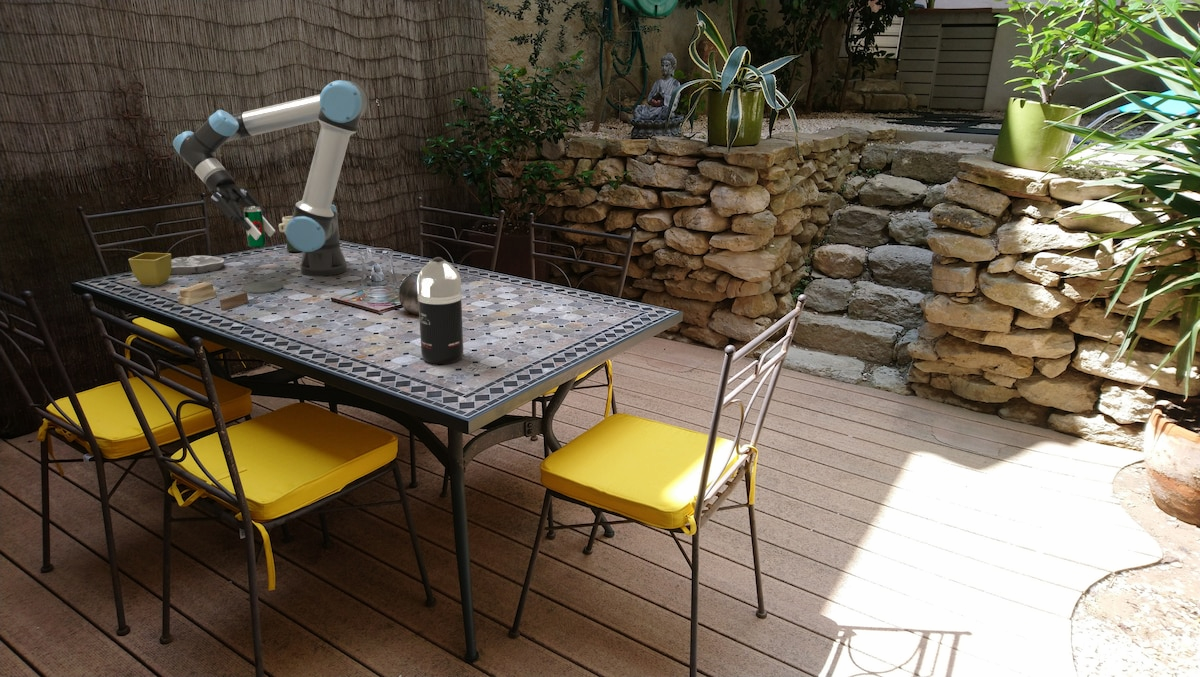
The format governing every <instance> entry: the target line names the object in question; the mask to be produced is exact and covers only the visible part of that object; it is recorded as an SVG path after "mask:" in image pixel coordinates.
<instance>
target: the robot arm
mask: <svg viewBox="0 0 1200 677" xmlns="http://www.w3.org/2000/svg"><path fill="white" fill-rule="evenodd" d="M369 98H370V97H369V95H368V92H367V90H366V89H365V87H363V85H361V84H360V83H358V82H356V81H354V80H344V79H343V80H342V79H338V80H334V81H332V82H330V83H328V84H327V85H326V86H324V88H322V90H321V92H320V93H319V94H315V95H311V96H306V97H303V98H298V99H294V100H289V101H285V102H282V103H281V102H280V103H277V104H272V105H268V106H264V107H259V108H255V109H251V110H247V111H243V112H239V113H238V112H237V113H234V114H230V113H229V112H227V111H225V110H223V109H218V110H216V111H215V112H214V113H213V114H211V115H210V116H209V117H208V119H207V120H206V121H205V122H204V123H203V124H201V126H200V127H199V128H198V129H197V130H196V131H195V132H193V131H191V130H185V131H183V132H181V133H180V134H177V136H176V137H174V139H173V141H172V146H173V148H174V149H175V151H176V152H177V154H178V155H179V157H180V158H181V159H182V160H183V161H184V162H185V163H186V164H187V165H188V166H189V168H191V170H192V171H193V172H194V173H195V174H196V175H197V177H198V178H199V179H200V180H201V182H203V183H204V185H205V186H206V188H208V190H209V191H210V192H211V193H212V196H210V200H211V202H213V203H214V204H216V205H217V207H218V208H219V209H220V211H221V212H222V213H223V214H224V215H225V216H226V218H227V219H228V220H229V221H230V222H231V223H233V224H234V223H235V224H236V225H237V226H241V227H242V228H243V229H244V231H245V232H246V231H248V232H249V233H250V234H251V236H252V237H253V238H254V239H255V240H258V238H259V237H260V236H261V233H260V232H259V230H258V229H257V228H256V227H255V226H254V225H253V223H252V222H251V221H250V220H249V219H248V218H245V219H244V213H243V212H242V210H241V208H240V207H239V206H241V207H242V208H243V209H244V208H245V207H249V206H258V207H260V209H261V210H262V216H263V224H264V232H265V233H266V234H267V236H268V237H272V236H273V235H274V234H275V232H276V229H275V228H274V226H272V225H271V224H270V221H269V220H268V219H267V218H266V217H265V214H266V213H267V210H266V209H265V208H264V207H263V206H262V204H261V203H260V202H259V201H258V200H257V198H256V197H255V196H254V194H252V192H251V190H250V189H249V188H248V187H245V188H244V189H243V188H240V187H239V185H236V184H235V179H234V177H233V176H232V175H231V174H230V173H229V171H227V170H226V168H225V167H224V166H223V164H222V163H221V162H220V161H219V160H218V159H217V158H216V157H215V155H214V154H215V153H216V152H217V151H218V150H220V148H221V147H222V146H223V145H224V144H225V143H228V142H232V141H239V140H243V139H245V138H249V137H253V136H254V137H255V136H259V135H263V134H265V133H271V132H275V131H279V130H284V129H287V128H293V127H296V126H300V125H306V124H310V123H314V122H318V123H319V124H320V126H321V127H320V130H319V135H318V139H317V141H316V145H315V149H314V154H313V157H312V161H311V165H310V168H309V169H310V170H309V172H308V177H307V181H306V184H305V188H304V192H303V196H302V199H301V200H299V201H297V202H296V203H295V204H294V209H293V214H292V215H291V216H292V219H291V220H290V221H289V222H288V224H287V227H286V235H285V236H286V241H287V240H288V241H289V243H290V244H291V245H292V246H293V247H294V248H296V249H297V250H300V251H299V252H302V256H301V257H302V258H301V260H300V261H301V262H300V265H299V266H300V274H302V275H306V276H314V277H315V276H316V277H324V276H325V277H326V276H334V275H339V274H343V273H345V272H347V271H348V262H347V260H346V258H345V255H344V254H343V250H342V249H341V243H340V230H339V221H338V214H339V213H338V210H337V206H336V205H335V204H332V203H333V199H334V196H335V192H336V189H337V185H338V182H339V178H340V174H341V170H342V166H343V162H344V161H345V156H346V152H347V148H348V144H349V141H350V138H351V136H352V135H354V134H356V133H357V132H358V128H359V124H360V121H361V117H363V116H364V115H365V114H366V113H367V111H368V109H369V106H370V99H369Z"/></svg>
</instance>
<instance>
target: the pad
mask: <svg viewBox="0 0 1200 677" xmlns="http://www.w3.org/2000/svg"><path fill="white" fill-rule="evenodd" d="M283 286H284V283H282V282H279V281H271V280H269V281H256V282H250V283H247V284H244V285H242V286H241V291H242V292H243V291H244V292H249V293H248V294H267V293H266V292H269V293H274V292H278V291H280V290H282V289H284V287H283ZM281 288H282V289H281ZM279 289H280V290H279ZM277 290H278V291H277ZM273 291H274V292H273Z"/></svg>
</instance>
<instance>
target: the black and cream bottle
mask: <svg viewBox="0 0 1200 677" xmlns="http://www.w3.org/2000/svg"><path fill="white" fill-rule="evenodd" d="M416 284H417V285H416V286H417V287H416V288H417V301H418V302H417V303H418V317H419V332H420V333H419V334H420V335H419V336H420V352H421V357H422V359H423V360H424V361H425V362H427V363H430V364H434V365H447V364H453V363H456V362H458V361H459V360H461V359H462V357H463V356H464V335H463V334H464V333H463V330H464V329H463V307H462V305H463V304H462V299H463V295H462V294H463V293H462V280H461V276H460V274H459V272H458V270H457V269H456V268H455V267H454V266H453V265H452V264H451V263H449V262H448V261H447V260H445V259H443V257H441V256H436V257H434V258H432V259H431V260H430V261H429V262H427V263H426V264H425V265H424V266H423V267H422V268H421V269H420V272H419V273H418V275H417V278H416Z"/></svg>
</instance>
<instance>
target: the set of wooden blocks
mask: <svg viewBox="0 0 1200 677" xmlns="http://www.w3.org/2000/svg"><path fill="white" fill-rule="evenodd" d="M179 294H180V295H179V296H177V302H178V305H183V306H192V305H195V304H198V303H201V302H204V301H207V300H210V299H213V298H216V297H217V296H218V295H217V290H216V289H214V284H213V283H210V282H200V283H196V284H194V285H191V286H188V287H185V288H182V289H179ZM246 302H247V303H249V297H248V293H247V292H243V291H242V292H240V293H237V294H234V295H231V296H228V297H224V298H221V299H219V303H220V308H221V309H220V311H227V310H230V309H233V308H235V307H238V305H239V306H241V304H242V305H244V304H246Z"/></svg>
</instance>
